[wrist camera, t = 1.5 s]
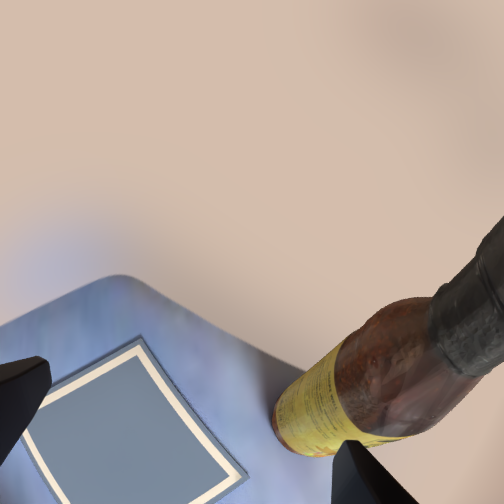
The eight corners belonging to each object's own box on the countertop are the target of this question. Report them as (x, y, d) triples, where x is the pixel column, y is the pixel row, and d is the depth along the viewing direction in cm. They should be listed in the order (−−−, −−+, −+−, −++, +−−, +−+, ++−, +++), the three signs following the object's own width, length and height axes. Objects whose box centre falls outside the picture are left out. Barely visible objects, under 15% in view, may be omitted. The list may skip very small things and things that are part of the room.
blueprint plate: (249, 477, 17) (250, 477, 17) (105, 560, 11) (104, 561, 10) (141, 339, 22) (141, 337, 22) (10, 412, 15) (7, 411, 15)
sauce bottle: (305, 473, 18) (585, 419, 3) (251, 414, 20) (454, 235, 5) (361, 417, 22) (586, 285, 6) (312, 364, 24) (493, 170, 9)
